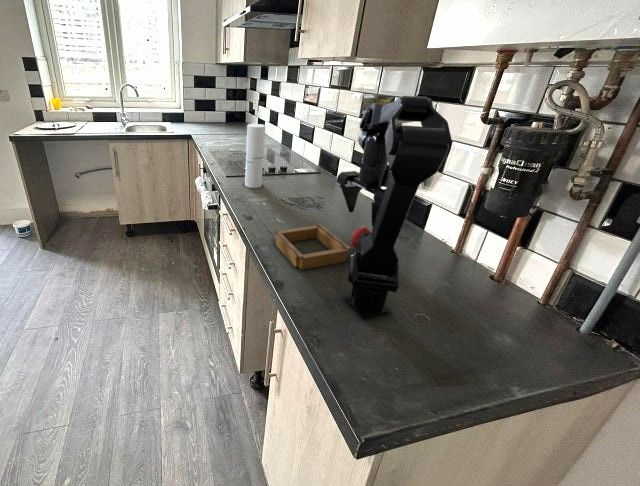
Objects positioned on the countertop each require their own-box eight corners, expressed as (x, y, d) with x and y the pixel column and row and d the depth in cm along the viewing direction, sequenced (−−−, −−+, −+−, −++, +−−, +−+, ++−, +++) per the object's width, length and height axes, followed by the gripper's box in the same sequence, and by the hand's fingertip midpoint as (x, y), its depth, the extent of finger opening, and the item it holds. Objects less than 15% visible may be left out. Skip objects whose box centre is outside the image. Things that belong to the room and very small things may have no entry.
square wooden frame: (348, 261, 86) (351, 247, 84) (298, 270, 81) (300, 256, 80) (317, 235, 99) (319, 223, 97) (273, 241, 94) (274, 229, 92)
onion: (371, 249, 92) (378, 224, 89) (367, 258, 88) (374, 232, 84) (351, 243, 95) (356, 219, 91) (346, 252, 90) (351, 227, 87)
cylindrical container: (261, 188, 135) (265, 127, 124) (244, 187, 135) (247, 126, 124) (261, 182, 141) (264, 124, 130) (245, 182, 141) (247, 123, 130)
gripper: (433, 168, 71) (415, 231, 77) (375, 149, 87) (364, 202, 93) (393, 171, 67) (377, 237, 74) (340, 151, 83) (331, 206, 90)
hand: (362, 219), depth 83 cm, fingers open, 9 cm apart
